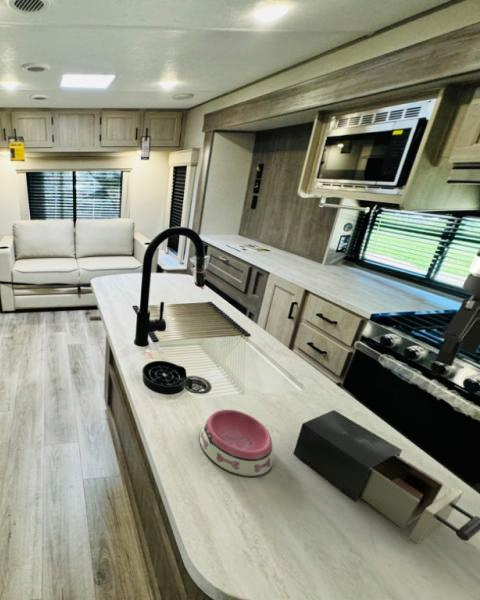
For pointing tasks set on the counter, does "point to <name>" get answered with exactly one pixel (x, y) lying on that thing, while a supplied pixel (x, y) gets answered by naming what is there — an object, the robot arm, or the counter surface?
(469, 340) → the robot arm
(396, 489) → the drawer
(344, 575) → the counter surface
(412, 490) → the block
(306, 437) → the cabinet
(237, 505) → the counter surface
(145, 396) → the counter surface
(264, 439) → the dog bowl
